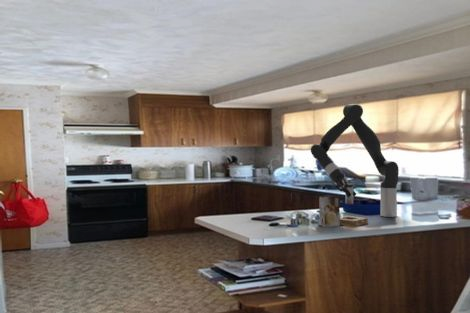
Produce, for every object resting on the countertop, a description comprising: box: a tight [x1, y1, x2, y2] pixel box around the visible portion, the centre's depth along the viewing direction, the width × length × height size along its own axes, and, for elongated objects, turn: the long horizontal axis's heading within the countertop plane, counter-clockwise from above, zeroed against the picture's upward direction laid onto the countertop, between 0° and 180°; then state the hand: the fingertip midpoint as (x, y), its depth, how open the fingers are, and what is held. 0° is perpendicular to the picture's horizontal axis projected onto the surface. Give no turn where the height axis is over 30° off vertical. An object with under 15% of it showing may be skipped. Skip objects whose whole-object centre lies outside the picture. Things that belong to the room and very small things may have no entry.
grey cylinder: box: [344, 183, 355, 205], centre depth 251 cm, size 5×5×11 cm
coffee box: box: [318, 194, 341, 228], centre depth 245 cm, size 9×6×16 cm
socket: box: [340, 215, 369, 228], centre depth 251 cm, size 14×14×3 cm
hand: (352, 195), depth 249 cm, fingers closed on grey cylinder, 4 cm apart
